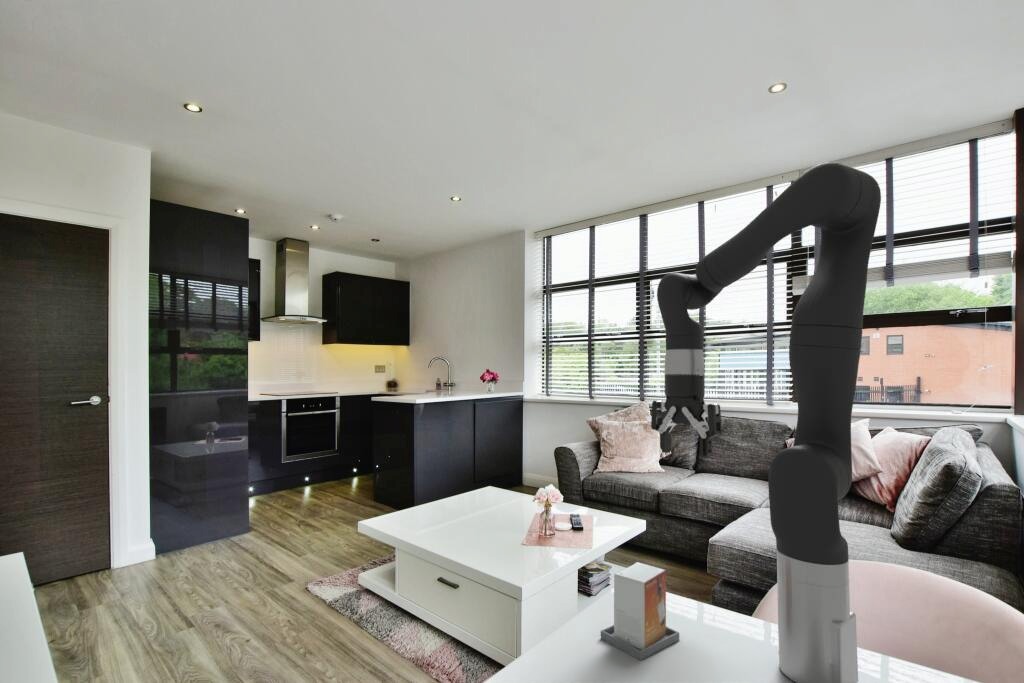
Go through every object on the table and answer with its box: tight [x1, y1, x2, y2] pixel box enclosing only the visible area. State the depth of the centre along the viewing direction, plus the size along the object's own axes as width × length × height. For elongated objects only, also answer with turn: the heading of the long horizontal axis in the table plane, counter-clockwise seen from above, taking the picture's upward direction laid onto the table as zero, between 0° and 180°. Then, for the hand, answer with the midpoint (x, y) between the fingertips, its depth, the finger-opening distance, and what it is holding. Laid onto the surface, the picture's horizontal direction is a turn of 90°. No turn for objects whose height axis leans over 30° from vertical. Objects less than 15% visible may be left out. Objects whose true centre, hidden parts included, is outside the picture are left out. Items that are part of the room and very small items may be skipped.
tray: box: [600, 624, 680, 661], centre depth 83 cm, size 8×10×1 cm
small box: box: [613, 561, 667, 650], centre depth 83 cm, size 8×6×10 cm
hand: (685, 455), depth 99 cm, fingers open, 8 cm apart
